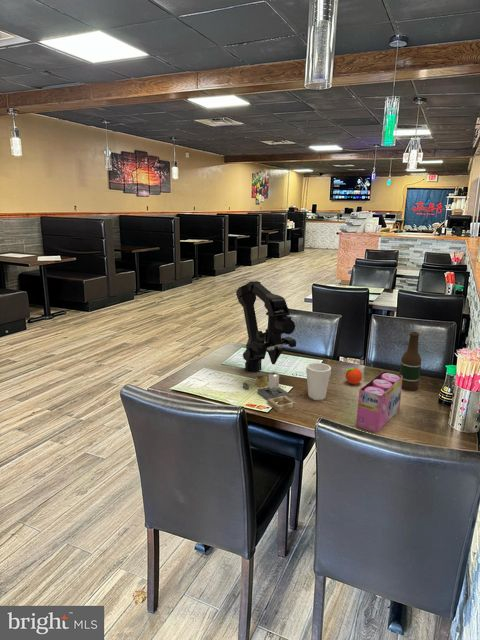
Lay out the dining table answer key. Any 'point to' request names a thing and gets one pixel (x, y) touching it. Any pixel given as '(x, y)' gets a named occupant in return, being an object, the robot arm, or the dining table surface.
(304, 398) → the dining table surface
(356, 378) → the clementine
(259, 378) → the translucent yellowish block
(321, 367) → the foam cup
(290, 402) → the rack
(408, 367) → the beer bottle
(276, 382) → the drill peg
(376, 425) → the gum box
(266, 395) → the socket plate
